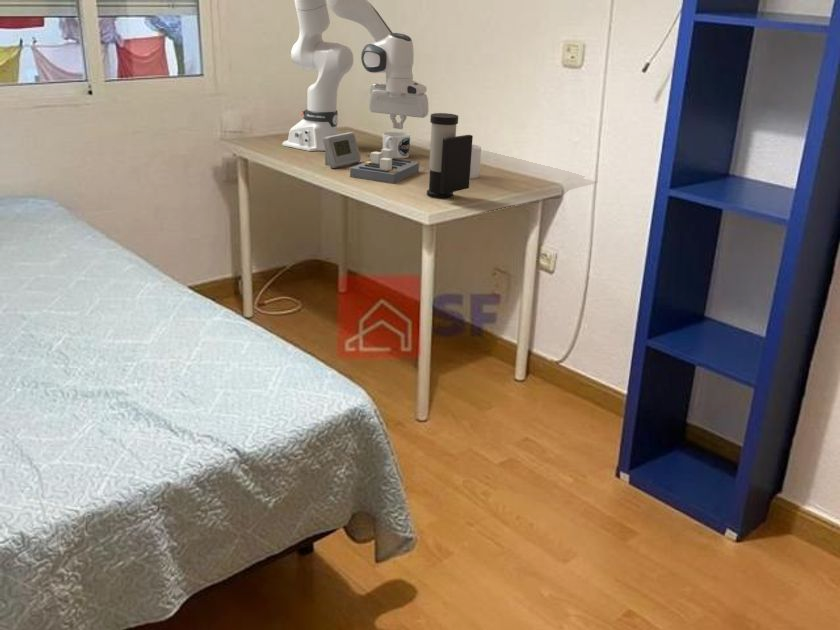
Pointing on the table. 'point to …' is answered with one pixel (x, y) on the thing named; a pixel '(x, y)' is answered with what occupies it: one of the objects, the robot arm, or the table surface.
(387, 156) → the slider
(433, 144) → the light fixture
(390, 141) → the mug
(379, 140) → the table surface
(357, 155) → the digital clock
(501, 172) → the table surface
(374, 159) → the slider
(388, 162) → the slider
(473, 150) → the mug
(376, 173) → the switch unit
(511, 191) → the table surface
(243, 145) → the table surface
